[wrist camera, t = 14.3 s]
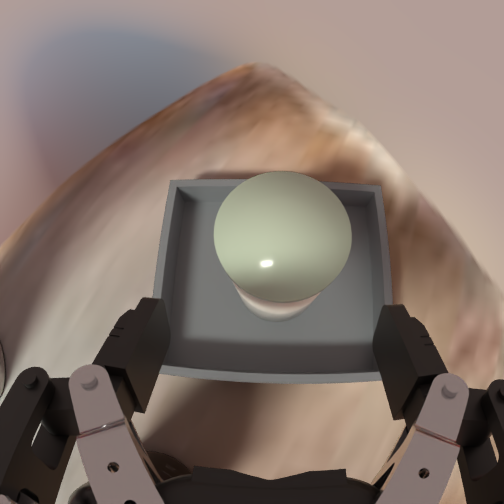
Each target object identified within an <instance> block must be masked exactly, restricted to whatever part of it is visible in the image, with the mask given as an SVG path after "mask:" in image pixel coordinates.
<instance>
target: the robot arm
mask: <svg viewBox="0 0 504 504" xmlns="http://www.w3.org/2000/svg"><path fill="white" fill-rule="evenodd" d="M170 337H171V334H170V327H169V322H168V317H167V312H166V307H165V302H164V300H163V299H160V298H147V297H143V298H142V299H141V300H140V302H139V304H138V305H137V307H136V309H135V310H131V309H130V310H128V311H127V312H126V313H124V314H123V315H122V316H121V317H120V318H119V319H118V321H117V322H116V324H115V326H114V329H112V331H111V332H110V334H109V337H107V339H106V341H105V342H104V344H103V346H102V348H101V349H100V351H99V353H98V354H97V356H96V358H95V360H94V361H93V363H92V364H91V365H85V366H82V367H80V368H78V369H77V370H76V371H75V372H73V374H72V375H71V377H70V378H50V377H49V375H48V374H47V372H46V371H45V370H44V369H42V368H40V367H31V368H28V369H26V370H24V371H23V372H21V373H20V374H19V376H18V377H17V379H16V380H15V382H14V384H13V385H12V387H11V389H10V390H9V392H8V394H7V396H6V397H5V399H4V401H3V403H2V404H1V406H0V504H55V502H56V498H57V495H58V492H59V489H60V485H61V482H62V479H63V476H64V473H65V470H66V467H67V464H68V461H69V459H70V456H71V453H72V450H73V447H74V445H75V442H76V441H77V445H78V449H79V452H80V456H81V459H82V462H83V465H84V468H85V471H86V474H87V477H88V480H89V483H90V485H91V488H92V491H93V493H94V496H95V499H96V501H97V504H439V502H440V499H441V497H442V495H443V492H444V490H445V488H446V485H447V483H448V480H449V478H450V475H451V473H452V470H453V468H454V465H455V462H456V459H457V461H458V465H459V469H460V473H461V478H462V482H463V487H464V492H465V497H466V502H467V504H504V380H501V379H499V380H495V381H493V382H492V383H491V384H490V386H489V387H488V388H487V390H482V389H472V388H468V386H467V384H466V383H465V382H464V380H463V379H461V378H460V377H458V376H457V375H454V374H450V373H448V371H447V369H446V367H445V365H444V363H443V361H442V359H441V357H440V355H439V353H438V351H437V349H436V347H435V345H433V344H434V343H433V341H432V339H431V337H429V334H428V332H427V330H426V328H425V326H424V325H423V324H422V323H421V322H420V321H418V320H417V319H416V318H415V317H410V315H409V314H408V312H407V310H406V308H405V306H404V305H402V304H398V305H383V307H382V309H381V312H380V315H379V319H378V322H377V326H376V329H375V332H374V336H373V342H372V347H373V353H374V356H375V359H376V362H377V365H378V369H379V372H380V375H381V378H382V382H383V385H384V388H385V392H386V395H387V399H388V402H389V406H390V409H391V413H392V417H393V420H399V419H405V422H406V425H405V427H404V428H403V430H402V432H401V434H400V436H399V438H398V440H397V442H396V443H395V445H394V447H393V449H392V451H391V453H390V454H389V456H388V458H387V460H386V461H385V463H384V465H383V466H382V468H381V470H380V471H379V472H378V474H377V475H376V476H375V478H374V479H373V481H372V482H371V484H369V483H367V482H364V481H361V480H358V479H353V478H348V477H346V469H338V470H325V471H309V472H305V473H301V474H297V475H293V476H289V477H284V478H280V479H275V480H266V479H262V478H258V477H254V476H251V475H247V474H243V473H240V472H237V471H233V470H227V469H216V468H208V467H199V466H194V469H193V474H187V475H182V476H177V477H174V478H170V479H168V480H165V481H162V479H161V477H160V476H159V474H158V472H157V471H156V469H155V467H154V466H153V464H152V462H151V460H150V458H149V456H148V454H147V452H146V450H145V448H144V446H143V444H142V442H141V440H140V438H139V436H138V433H137V431H136V429H135V427H134V425H133V422H132V420H131V418H132V415H133V413H134V411H135V412H140V413H145V411H146V408H147V405H148V402H149V400H150V397H151V394H152V391H153V388H154V386H155V383H156V380H157V377H158V375H159V372H160V369H161V367H162V364H163V361H164V358H165V356H166V353H167V350H168V348H169V345H170ZM4 380H5V364H4V357H3V352H2V348H1V345H0V396H1V393H2V391H3V386H4ZM40 423H41V427H40V429H39V431H38V433H37V436H36V438H35V440H34V442H33V445H32V447H31V444H32V440H33V437H34V435H35V433H36V431H37V429H38V426H39V424H40ZM491 435H493V438H494V441H495V444H496V447H497V450H498V453H499V460H498V463H497V460H496V457H495V454H494V450H493V447H492V444H491V441H490V438H489V437H490V436H491Z"/></svg>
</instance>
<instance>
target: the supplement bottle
mask: <svg viewBox="0 0 504 504" xmlns="http://www.w3.org/2000/svg"><path fill="white" fill-rule="evenodd" d="M146 452H147V454H148V456H149V458H150V460H151V462H152V464H153V466H154V467H155V469H156V471H157V472H158V474H159V476H160V477H161V479H162V481H165V480H168V479H170V478H174V477H177V476H182V475H187V474H192V473H191V472H190V471H189V470H188V469H187V468H186V467H185V466H184V465H183V464H182V463H180V462H179V461H177V460H176V459H174V458H172V457H170V456H168V455H166V454H163V453H159V452H154V451H146ZM68 504H97V501H96V499H95V496H94V493H93V491H92V488H91V485H90V483H89V481H88V482H87V483H85V484H84V485H82V486H80V487H79V488H77V489H76V490H75V491H74V492H73V493H72V494H71V496H70V498H69V500H68Z"/></svg>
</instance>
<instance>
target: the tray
mask: <svg viewBox="0 0 504 504" xmlns="http://www.w3.org/2000/svg"><path fill="white" fill-rule="evenodd" d="M246 180H248V179H193V180H170V185H169V190H168V196H167V201H166V207H165V213H164V219H163V225H162V231H161V237H160V244H159V251H158V258H157V265H156V273H155V281H154V289H153V298H160V299H163V300H164V302H165V307H166V312H167V317H168V322H169V327H170V334H171V337H170V345H169V348H168V350H167V353H166V356H165V358H164V361H163V364H162V367H161V369H160V372H159V374H166V375H173V376H181V377H190V378H199V379H210V380H221V381H235V382H252V383H281V384H322V383H351V382H368V381H381V380H382V378H381V375H380V372H379V369H378V365H377V362H376V359H375V356H374V353H373V347H372V342H373V336H374V332H375V329H376V326H377V322H378V319H379V315H380V312H381V309H382V307H383V305H393V298H392V280H391V266H390V255H389V244H388V235H387V226H386V218H385V211H384V204H383V197H382V191H381V186H379V185H367V184H354V183H339V182H321V181H319V182H321V183H322V184H324V185H325V186H326V187H328V188H329V189H330V190H331V191H332V192H333V193H334V194H335V195H336V196H337V197H338V199H339V200H340V201H341V203H342V205H343V206H344V208H345V210H346V212H347V215H348V217H349V221H350V224H351V231H352V242H351V249H350V253H349V256H348V259H347V261H346V263H345V265H344V267H343V269H342V270H341V272H340V273H339V274H338V276H337V277H336V278H335V279H334V280H333V281H332V283H331V284H330V285H329V286H327V287H326V288H325V289H324V290H323V291H321V292H320V294H319V295H318V296H317V297H316V298H315V299H314V301H313V302H312V303H311V304H310V305H309V306H308V308H307V309H306V310H305V311H304V312H303V313H302V314H300V315H299V316H297V317H296V318H293V319H291V320H288V321H284V322H270V321H266V320H263V319H260V318H259V317H257V316H255V315H254V314H252V313H251V312H250V311H249V310H248V309H247V307H246V306H245V305H244V303H243V301H242V299H241V297H240V295H239V293H238V291H237V289H236V287H235V285H234V283H233V281H232V280H231V278H230V277H229V276H228V275H227V273H226V271H225V270H224V268H223V266H222V264H221V262H220V260H219V258H218V255H217V252H216V248H215V244H214V225H215V220H216V217H217V213H218V211H219V209H220V207H221V205H222V203H223V202H224V200H225V199H226V197H227V196H228V195H229V194H230V193H231V191H233V190H234V189H235V188H236V187H237V186H238V185H240V184H241V183H243V182H244V181H246Z"/></svg>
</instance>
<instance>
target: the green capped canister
mask: <svg viewBox="0 0 504 504" xmlns="http://www.w3.org/2000/svg"><path fill="white" fill-rule="evenodd" d="M351 242H352V231H351V224H350V221H349V217H348V215H347V212H346V210H345V208H344V206H343V205H342V203H341V201H340V200H339V199H338V197H337V196H336V195H335V194H334V193H333V192H332V191H331V190H330V189H329V188H328V187H326V186H325V185H324V184H322V183H321V182H319V181H317V180H316V179H313V178H311V177H309V176H306V175H303V174H300V173H295V172H288V171H275V172H267V173H263V174H260V175H257V176H254V177H252V178H250V179H248V180H246V181H244V182H243V183H241V184H240V185H238V186H237V187H236V188H235V189H234V190H233V191H231V193H230V194H229V195H228V196H227V197H226V199H225V200H224V202H223V203H222V205H221V207H220V209H219V211H218V213H217V217H216V220H215V225H214V244H215V248H216V252H217V255H218V258H219V260H220V262H221V264H222V266H223V268H224V270H225V271H226V273H227V275H228V276H229V277H230V278H231V280H232V281H233V283H234V285H235V287H236V289H237V291H238V293H239V295H240V297H241V299H242V301H243V303H244V305H245V306H246V307H247V309H248V310H249V311H250V312H251V313H252V314H254V315H255V316H257V317H259V318H260V319H263V320H266V321H270V322H284V321H288V320H291V319H293V318H296V317H297V316H299V315H300V314H302V313H303V312H304V311H305V310H306V309H307V308H308V306H309V305H310V304H311V303H312V302H313V301H314V299H315V298H316V297H317V296H318V295H319V294H320V292H321V291H323V290H324V289H325V288H326V287H327V286H329V285H330V284H331V283H332V281H333V280H334V279H335V278H336V277H337V276H338V274H339V273H340V272H341V270H342V269H343V267H344V265H345V263H346V261H347V259H348V256H349V253H350V249H351Z"/></svg>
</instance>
